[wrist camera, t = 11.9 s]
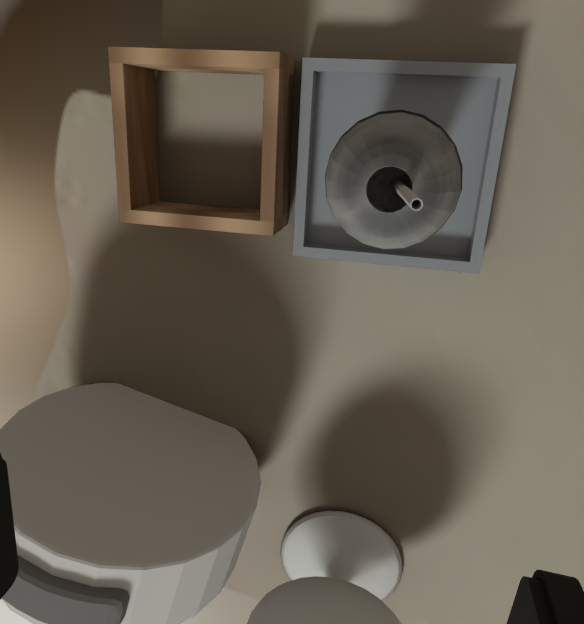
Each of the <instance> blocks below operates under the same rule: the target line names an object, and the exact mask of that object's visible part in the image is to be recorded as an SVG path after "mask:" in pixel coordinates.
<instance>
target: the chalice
mask: <svg viewBox="0 0 584 624" xmlns="http://www.w3.org/2000/svg"><path fill="white" fill-rule="evenodd" d="M280 553H281V559H282V564H283V566H284V569H285V571H286V573H287V575H288V576H289V578H290V579H291V580H292V581H289V582H286V583H284V584H282V585H279V586H278V587H276V588H275V589H273V590H272V591H270V592H269V593H267V594H266V595H265V596H264V597H263V598H262V600H261V601H260V602H259V603H258V605H257V606H256V607H255V608H254V610H253V611H252V612H251V615H250V617H249V620H248V623H247V624H401V623H400V621H399V620H398V618H397V617H396V616H395V614H394V613H393V612H392V611H391V610H390V609H389V608H388V607H387V606H386V605H385V604H384V603H383V602H382V600H384V599H386V598H387V597H388V596H389V595H390V594H391V593H392V592H393V591H394V590H395V589H396V587H397V585H398V584H399V582H400V579H401V575H402V571H403V570H402V558H401V555H400V552H399V549H398V547H397V546H396V544H395V543H394V541H393V540H392V538H391V537H390V536H389V535H388V534H387V533H386V532H385V531H384V530H383V529H382V528H381V527H379V526H378V525H376V524H375V523H373V522H372V521H370V520H368V519H366V518H364V517H361V516H359V515H357V514H353V513H348V512H344V511H321V512H315V513H312V514H309V515H307V516H304V517H302V518H301V519H299V520H298V521H296V522H295V523H293V524H292V526H291V527H290V528H289V529H288V530H287V531H286V533H285V536H284V538H283V540H282V544H281V551H280Z"/></svg>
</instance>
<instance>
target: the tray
mask: <svg viewBox="0 0 584 624" xmlns="http://www.w3.org/2000/svg"><path fill="white" fill-rule="evenodd" d="M515 70H516V64H500V63H467V62H435V61H403V60H370V59H338V58H306V57H303V60H302V79H301V99H300V119H299V139H298V159H297V179H296V199H295V219H294V238H293V256H299V257H310V258H320V259H331V260H341V261H351V262H362V263H372V264H383V265H393V266H404V267H414V268H425V269H435V270H446V271H456V272H466V273H477V274H479V273H480V268H481V262H482V256H483V251H484V245H485V239H486V234H487V228H488V223H489V217H490V211H491V206H492V200H493V194H494V189H495V183H496V177H497V172H498V166H499V160H500V155H501V149H502V143H503V138H504V132H505V126H506V121H507V115H508V109H509V104H510V98H511V92H512V87H513V81H514V75H515ZM401 109H402V110H406V111H410V112H414V113H418V114H422V115H425V116H426V117H428V118H429V119H431V120H432V121H434V122H435V123H437V124H438V125H440V126H441V127H443V129H444V130H445V131H446V133H447V134H448V135H449V137H450V138H451V139H452V141H453V142H454V143H455V145H456V147H457V150H458V153H459V157H460V160H461V163H462V166H463V173H462V191H461V194H460V197H459V200H458V203H457V206H456V208H455V211H454V212H453V213H452V215H451V216H450V217H449V219H448V220H447V222H446V223H445V224H444V226H443V227H442V228H441V229H440V230H438V231H437V232H436V233H434V234H433V235H432V236H430V237H429V238H428V239H426V240H425V241H423V242H420V243H417V244H414V245H412V246H409V247H406V248H395V249H381V248H377V247H374V246H370V245H366V244H363V243H362V242H360V241H359V240H357V239H356V238H354V237H352V236H351V235H349V234H348V233H346V231H345V230H344V229H343V228H342V226H341V225H340V224H339V223H338V221H337V220H336V219H335V218H334V216H333V214H332V211H331V209H330V206H329V203H328V201H327V198H326V187H325V173H326V169H327V165H328V161H329V157H330V154H331V152H332V151H333V149H334V147H335V146H336V144H337V142H338V141H339V139H340V137H341V136H342V135H343V134H344V133H345V132H346V131H348V130H349V129H350V128H351V127H352V126H353V125H354V124H355V123H356V122H358V121H359V120H361V119H364V118H366V117H368V116H370V115H373V114H375V113H377V112H381V111H391V110H401Z"/></svg>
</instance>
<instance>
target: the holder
mask: <svg viewBox="0 0 584 624" xmlns="http://www.w3.org/2000/svg"><path fill="white" fill-rule="evenodd" d="M108 51H109V67H110V82H111V98H112V114H113V130H114V146H115V161H116V177H117V193H118V209H119V222H122V223H134V224H145V225H156V226H167V227H178V228H189V229H200V230H212V231H223V232H234V233H245V234H256V235H267V236H274V235H275V234H276V233H277V232H279V231H280V230H281V229H282V228H283V227H284V226H286V225H287V219H288V197H289V175H290V153H291V131H292V110H293V88H294V66H295V61H294V60H293V59H291V58H289V57H288V56H286V55H284V54H283V53H281V52H270V51H236V50H202V49H168V48H134V47H108ZM155 71H179V72H206V73H233V74H260V75H264V99H263V135H262V171H261V206H260V209H248V208H235V207H223V206H211V205H199V204H186V203H174V202H162V201H159V176H158V149H157V122H156V95H155Z"/></svg>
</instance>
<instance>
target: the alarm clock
mask: <svg viewBox="0 0 584 624" xmlns="http://www.w3.org/2000/svg"><path fill="white" fill-rule="evenodd" d="M0 453H1V456H2V459H4V460H5V461H6V463H7V469H8V477H9V486H10V495H11V503H12V512H13V521H14V529H15V538H16V546H17V555H18V564H19V570H18V574H17V577H16V579H15V581H14V583H13V585H12V586H11V588H10V589H9V590H8V591H7V592H6V594H5V595H4V596H3V597H2V598H1V599H2V600H3V601H4V603H5V604H6V605H7V606H8V608H9V609H10V610H12V611H13V612H15V613H17V614H18V615H20V616H21V617H23V618H25V619H26V620H28V621H29V622H31V623H33V624H180V623H181V622H183V621H185V620H187V619H189V618H191V617H193V616H195V615H197V614H198V613H199V612H200V611H201V610H202V609H203V608H204V607H205V606H206V605H207V604H208V603H209V602H210V601H211V600H213V599H214V597H216V596H217V595H218V594H219V593H220V592H221V590H222V588H223V587H224V585H225V583H226V581H227V580H228V578H229V576H230V574H231V573H232V571H233V569H234V567H235V565H236V562H237V559H238V556H239V553H240V551H241V548H242V545H243V542H244V539H245V537H246V534H247V531H248V528H249V525H250V523H251V520H252V517H253V514H254V511H255V509H256V506H257V500H258V495H259V490H260V484H261V481H260V475H259V469H258V464H257V459H256V457H255V455H254V453H253V452H252V450H251V448H250V446H249V444H248V442H247V440H246V439H245V437H244V436H243V435H242V434H241V433H240V432H239V431H238V430H237V429H235V428H233V427H230V426H227V425H225V424H222V423H220V422H217V421H214V420H212V419H209V418H207V417H204V416H202V415H199V414H196V413H194V412H191V411H189V410H186V409H183V408H181V407H178V406H176V405H173V404H171V403H168V402H165V401H163V400H160V399H158V398H155V397H152V396H150V395H147V394H145V393H142V392H140V391H137V390H134V389H132V388H129V387H127V386H124V385H121V384H119V383H96V384H89V385H83V386H76V387H71V388H68V389H64V390H61V391H58V392H55V393H52V394H49V395H46V396H44V397H42V398H40V399H38V400H37V401H35V402H33V403H31V404H30V405H28V406H26V407H24V408H23V409H21V410H19V411H18V412H17V413H16V414H15V415H14V416H13V417H12V418H11V419H10V420H9V421H8V422H7V423H6V424H5V425H4V426H3V427H2V428H1V429H0Z"/></svg>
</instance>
